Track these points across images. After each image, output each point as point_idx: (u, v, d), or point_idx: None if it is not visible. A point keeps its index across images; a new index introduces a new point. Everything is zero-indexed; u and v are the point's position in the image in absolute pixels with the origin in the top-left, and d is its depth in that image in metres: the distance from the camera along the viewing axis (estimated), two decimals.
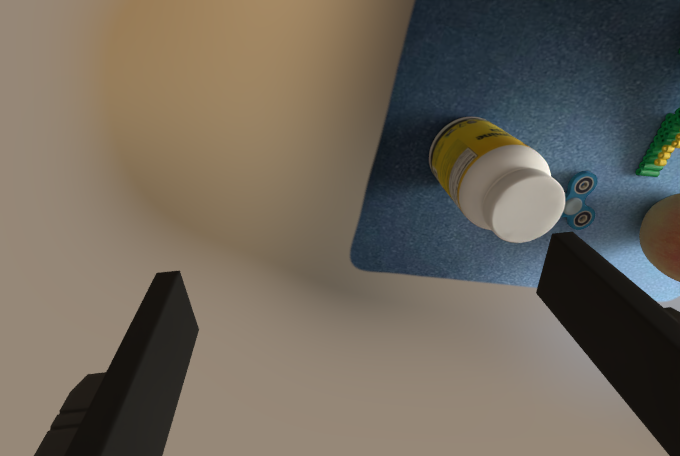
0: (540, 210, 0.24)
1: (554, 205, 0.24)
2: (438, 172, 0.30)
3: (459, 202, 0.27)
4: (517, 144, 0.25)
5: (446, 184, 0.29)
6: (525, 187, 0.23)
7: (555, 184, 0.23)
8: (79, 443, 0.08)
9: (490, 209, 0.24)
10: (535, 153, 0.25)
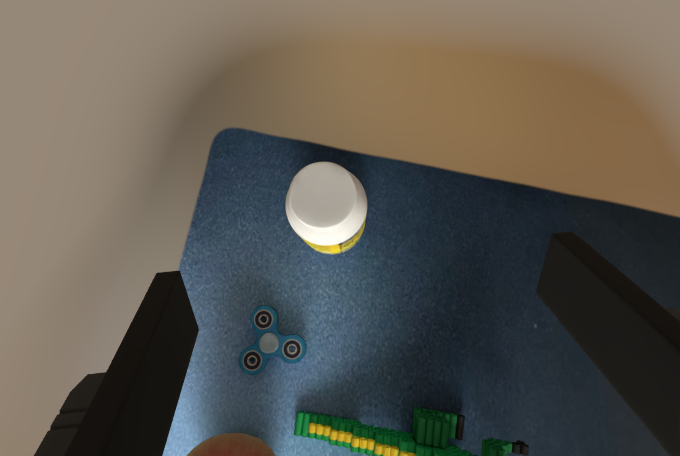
0: (322, 206, 0.26)
1: (326, 218, 0.26)
2: None
3: None
4: (366, 210, 0.29)
5: None
6: (347, 186, 0.26)
7: (348, 213, 0.26)
8: (79, 443, 0.08)
9: (325, 162, 0.26)
10: (361, 220, 0.28)
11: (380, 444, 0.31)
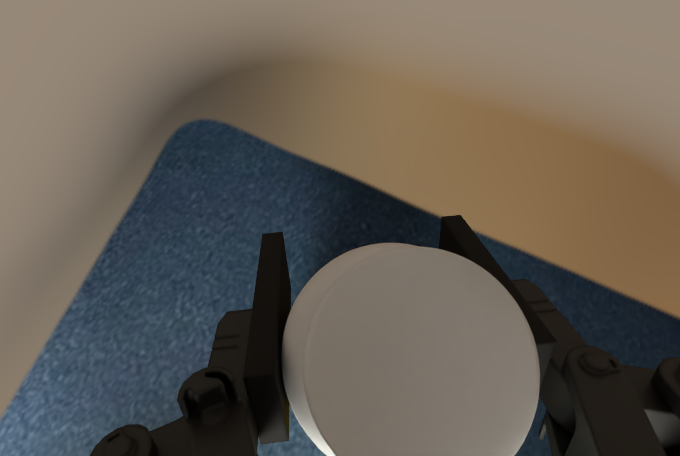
0: (416, 406, 0.07)
1: None
2: None
3: None
4: None
5: None
6: (509, 351, 0.08)
7: (504, 454, 0.07)
8: (253, 352, 0.10)
9: (445, 251, 0.08)
10: None
11: None
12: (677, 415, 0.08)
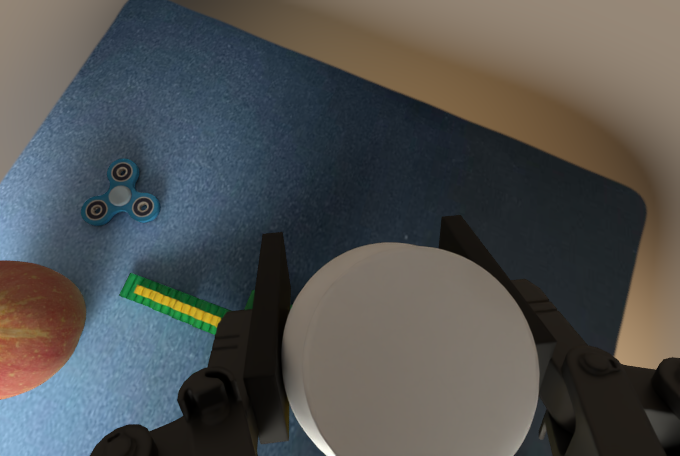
0: (416, 406, 0.07)
1: None
2: None
3: None
4: None
5: None
6: (509, 350, 0.08)
7: (503, 453, 0.07)
8: (253, 352, 0.10)
9: (444, 251, 0.08)
10: None
11: (203, 311, 0.28)
12: (677, 415, 0.08)
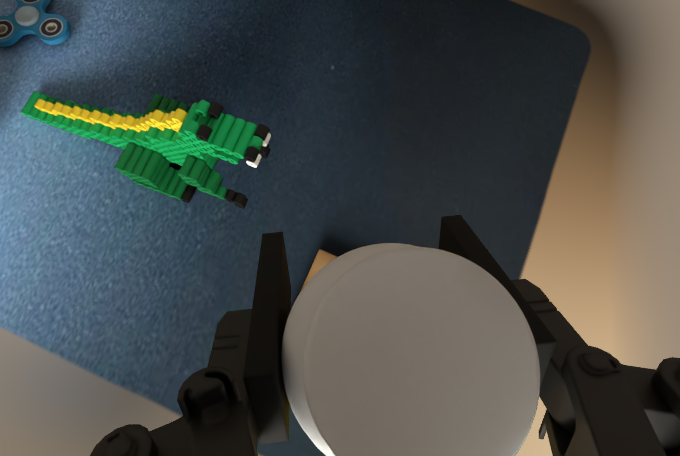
0: (416, 407, 0.07)
1: None
2: None
3: None
4: None
5: None
6: (509, 351, 0.08)
7: (504, 454, 0.07)
8: (254, 352, 0.10)
9: (445, 251, 0.08)
10: None
11: (101, 114, 0.26)
12: (677, 415, 0.08)
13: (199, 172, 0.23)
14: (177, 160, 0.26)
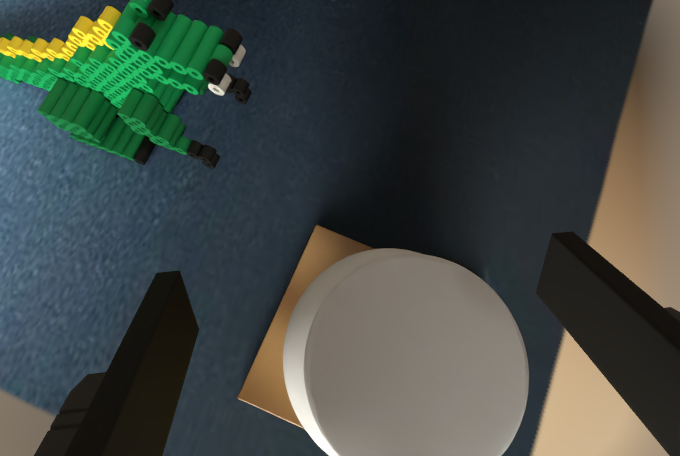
0: (411, 406, 0.08)
1: (420, 455, 0.07)
2: None
3: None
4: None
5: None
6: (500, 353, 0.08)
7: (494, 450, 0.08)
8: (79, 443, 0.08)
9: (439, 258, 0.09)
10: None
11: None
12: None
13: (147, 111, 0.17)
14: None
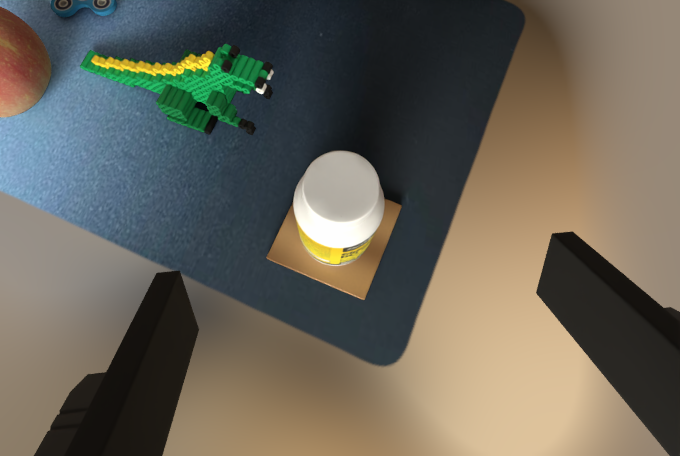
0: (338, 198, 0.23)
1: (340, 212, 0.23)
2: None
3: None
4: None
5: None
6: (370, 182, 0.23)
7: (365, 211, 0.23)
8: (79, 442, 0.08)
9: (351, 152, 0.24)
10: (375, 227, 0.25)
11: (145, 64, 0.35)
12: None
13: (220, 102, 0.32)
14: (202, 98, 0.34)
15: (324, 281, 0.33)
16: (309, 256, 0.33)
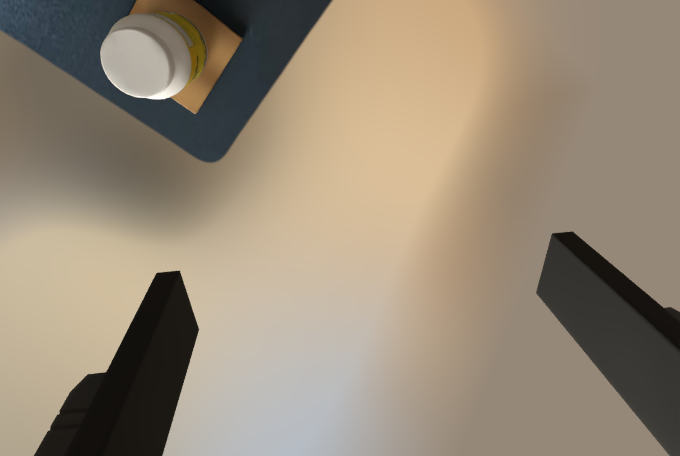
0: (132, 74, 0.28)
1: (134, 87, 0.28)
2: (170, 14, 0.33)
3: (148, 14, 0.29)
4: (188, 81, 0.32)
5: (161, 14, 0.31)
6: (161, 68, 0.28)
7: (155, 92, 0.29)
8: (79, 443, 0.08)
9: (147, 33, 0.27)
10: (177, 91, 0.31)
11: None
12: None
13: None
14: None
15: None
16: None
